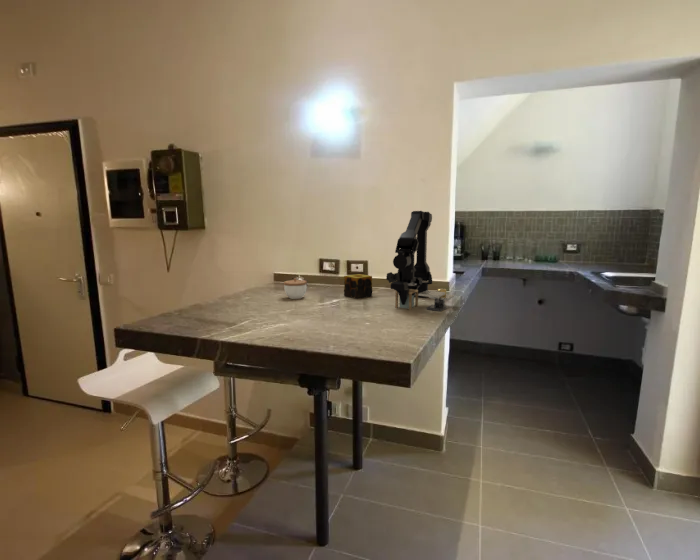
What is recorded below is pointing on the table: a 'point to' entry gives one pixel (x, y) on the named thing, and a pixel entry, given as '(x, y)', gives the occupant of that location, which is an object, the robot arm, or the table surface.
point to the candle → (358, 286)
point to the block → (407, 303)
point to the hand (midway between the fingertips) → (406, 303)
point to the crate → (409, 298)
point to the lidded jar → (295, 288)
